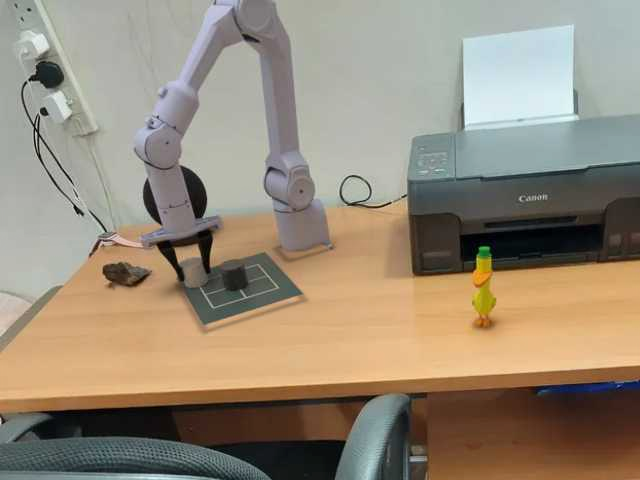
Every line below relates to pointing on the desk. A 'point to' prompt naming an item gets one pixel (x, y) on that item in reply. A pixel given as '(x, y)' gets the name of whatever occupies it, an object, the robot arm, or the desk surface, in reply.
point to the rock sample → (124, 272)
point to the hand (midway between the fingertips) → (194, 275)
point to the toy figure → (483, 286)
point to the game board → (241, 290)
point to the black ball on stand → (195, 195)
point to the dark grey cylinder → (234, 274)
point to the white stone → (193, 272)
